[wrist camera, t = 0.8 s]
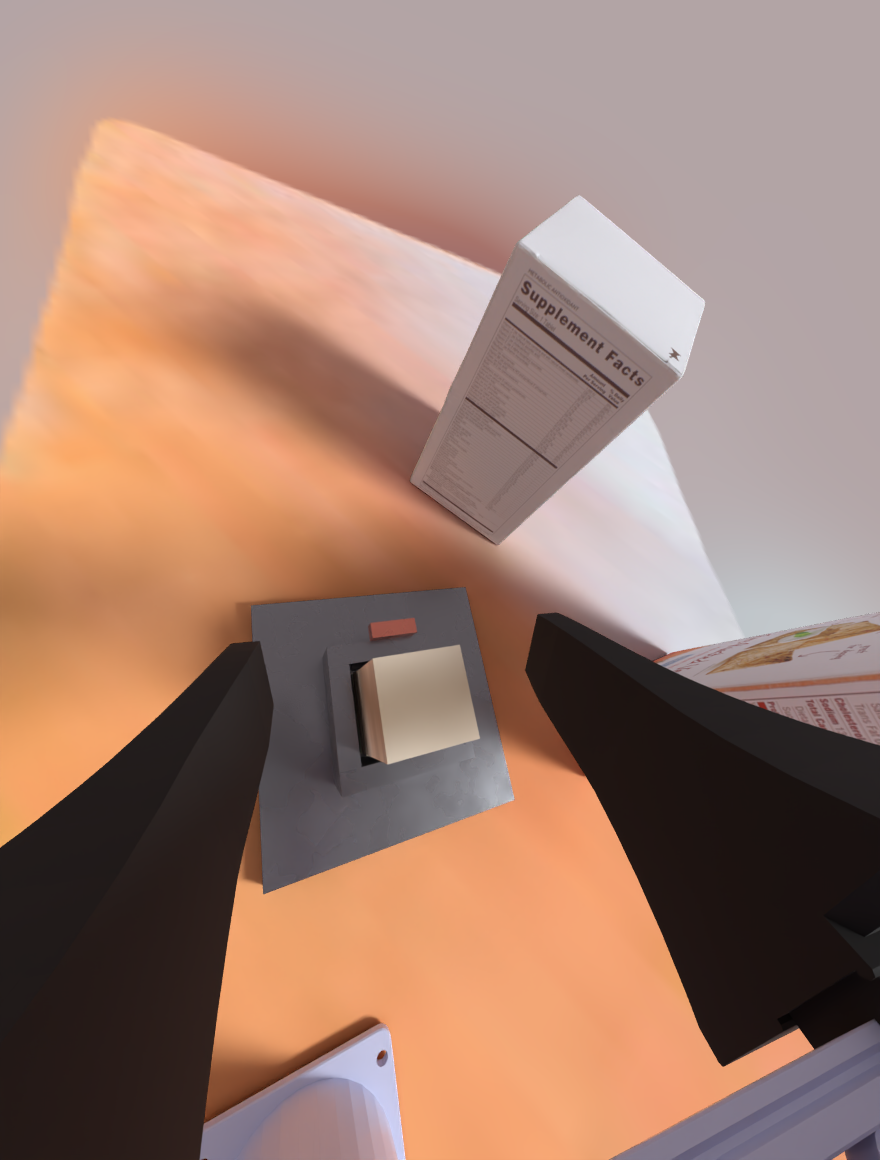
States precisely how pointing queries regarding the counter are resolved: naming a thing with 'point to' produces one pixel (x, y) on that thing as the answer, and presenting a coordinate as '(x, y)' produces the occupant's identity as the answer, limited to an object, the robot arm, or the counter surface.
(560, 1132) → the counter surface
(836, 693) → the cracker box
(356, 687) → the birch post
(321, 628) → the stand
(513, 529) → the supplement box
